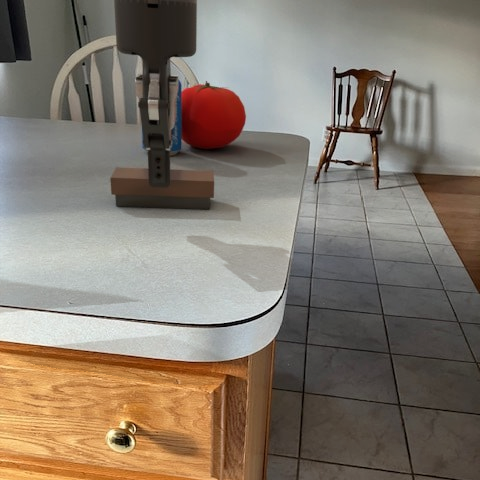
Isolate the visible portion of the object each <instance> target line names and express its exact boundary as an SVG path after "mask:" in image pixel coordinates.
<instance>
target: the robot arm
mask: <svg viewBox="0 0 480 480" xmlns="http://www.w3.org/2000/svg"><path fill="white" fill-rule="evenodd" d="M113 6H114V7H113V8H114V24H115V25H114V26H115V27H114V28H115V45H116V49H117V51H118V52H119V53H121V54H124V55H131V56H139V57H140V58H141V59H142V65H141V66H142V73H141V74H139V73H138V74H137V76H135V78H134V79H135V80H134V81H135V83H134V84H135V95H136V97H137V98H138V102H137V107H138V113H139V125H140V127H141V133H142V132H143V144H144V147H145V148H146V150H145V151H146V152H147V151H148V153H147V169H148V175H149V185H150V186H151V187H168V186H169V185H170V169H171V156H170V148H172V144H173V140H171V138H172V135H173V130H172V128H174V126H175V121H176V97H177V93H178V79H179V77H178V76H171V74H172V73H171V71H172V70H171V58H189V57H192V56H193V57H194V56H195V55H196V53H197V31H198V30H197V26H198V25H197V20H198V17H197V16H198V14H197V13H198V0H113Z"/></svg>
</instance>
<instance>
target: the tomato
mask: <svg viewBox="0 0 480 480" xmlns="http://www.w3.org/2000/svg"><path fill="white" fill-rule="evenodd" d="M246 121H247V113H246V109H245V105H244V104H243V102H242V100H241V98H240V97H239V95H238V94H236V93H235V92H234V91H233V90H231V89H229V88H226V87H220V86H219V87H218V86H214V85H211V83H210V82H208V81H207V80H205V84H203V83H202V84H196V85H193V86H191V87H186V88H184V89H183V90H181V141H183V142H184V143H185V144H187V145H188V146H191V147H193V148H197V149H202V150H210V149H221V148H223V147H226V146H228V145H230V144H231V143H232V142H234V141H236V139H238V138H239V137H240V136H241V133H242V132H243V130H244V127H245V125H246Z"/></svg>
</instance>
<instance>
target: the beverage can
mask: <svg viewBox="0 0 480 480" xmlns="http://www.w3.org/2000/svg"><path fill="white" fill-rule="evenodd" d="M171 76H178V93H177V97H176V121H175V126H174V128H172V130H173V135H172V138H171V140H173V144H172V148H170V157H171V156H176V155H177V154H178V152H180V151H181V150H182V139H181V92H182V82H181V81H180V79H179V77H180V76H179V75H178V74H174V73H171ZM141 143H142V144H141V145H142V146H141V147H142V150H144V151H146V148H145V147H144V144H143V132H142V131H141ZM146 153H147V154H148V151H146Z"/></svg>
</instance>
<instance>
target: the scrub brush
mask: <svg viewBox="0 0 480 480" xmlns="http://www.w3.org/2000/svg"><path fill="white" fill-rule="evenodd" d="M109 181H110V194H111V195H114V196H115V197H114V199H115V207H121V208H123V207H125V208H128V207H129V208H153V209H154V208H156V209H157V208H158V209H159V208H160V209H186V210H187V209H188V210H211V199H214V198H215V174H214V170H199V169H198V170H196V169H195V170H194V169H173V168H172V169H171V168H170V185H169V186H168V187H151V186H150V185H149V175H148V167H147V168H145V167H115V169H114V170H113V172H112V174H111V176H110V180H109Z"/></svg>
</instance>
